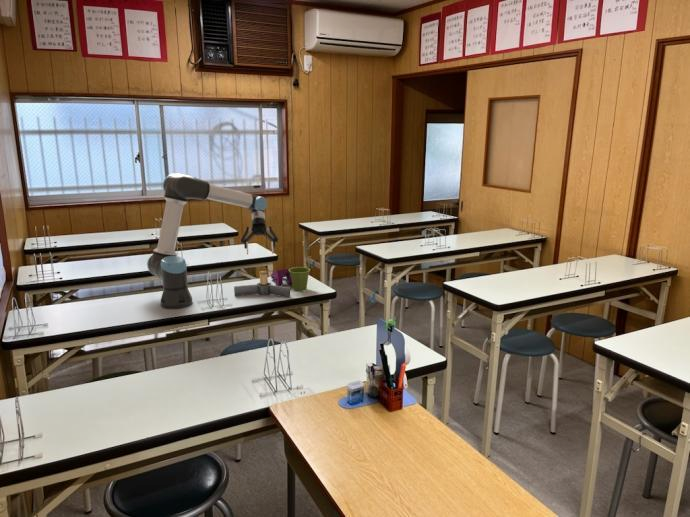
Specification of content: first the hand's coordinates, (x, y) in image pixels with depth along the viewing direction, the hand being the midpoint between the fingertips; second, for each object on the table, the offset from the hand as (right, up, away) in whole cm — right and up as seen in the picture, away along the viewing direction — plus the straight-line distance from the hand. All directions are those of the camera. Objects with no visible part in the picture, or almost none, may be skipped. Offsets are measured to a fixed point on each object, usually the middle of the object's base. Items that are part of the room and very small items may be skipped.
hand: (260, 252), depth 273 cm
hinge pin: (+3, -22, -5) cm, 22 cm away
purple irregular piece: (+10, -17, +15) cm, 25 cm away
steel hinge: (+3, -22, -6) cm, 23 cm away
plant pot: (+21, -20, +2) cm, 30 cm away
